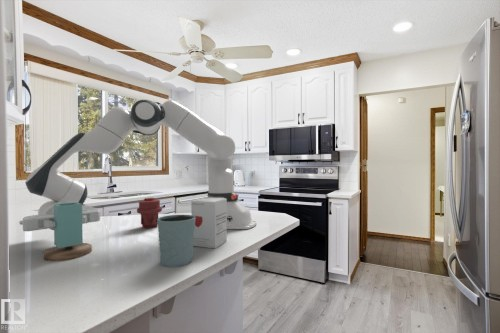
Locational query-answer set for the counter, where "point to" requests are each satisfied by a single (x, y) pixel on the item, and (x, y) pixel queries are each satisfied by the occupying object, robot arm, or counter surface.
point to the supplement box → (210, 221)
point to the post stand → (67, 252)
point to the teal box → (68, 224)
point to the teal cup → (176, 239)
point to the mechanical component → (149, 212)
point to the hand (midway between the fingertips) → (68, 222)
